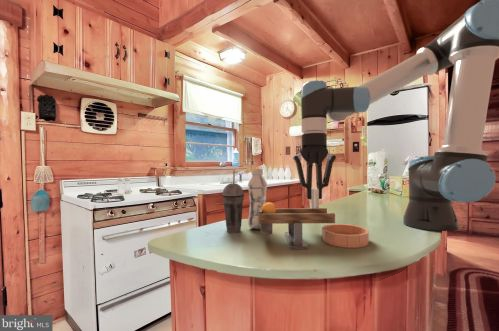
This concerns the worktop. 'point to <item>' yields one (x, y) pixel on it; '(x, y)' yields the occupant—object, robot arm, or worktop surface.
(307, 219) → the trough
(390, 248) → the worktop surface
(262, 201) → the plastic bottle
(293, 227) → the stand
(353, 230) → the bowl
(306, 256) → the worktop surface
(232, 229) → the beverage cup
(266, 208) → the ball
